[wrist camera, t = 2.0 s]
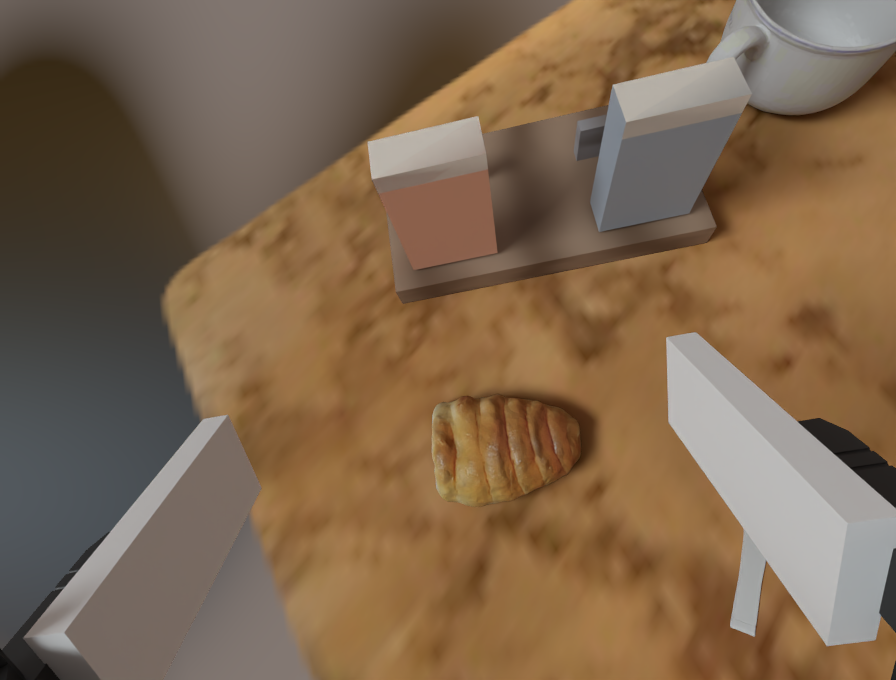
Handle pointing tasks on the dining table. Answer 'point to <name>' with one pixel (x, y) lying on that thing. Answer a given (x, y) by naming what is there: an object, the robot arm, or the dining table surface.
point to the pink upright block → (437, 192)
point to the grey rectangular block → (664, 141)
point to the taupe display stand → (546, 213)
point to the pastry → (500, 448)
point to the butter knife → (748, 588)
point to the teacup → (807, 50)
